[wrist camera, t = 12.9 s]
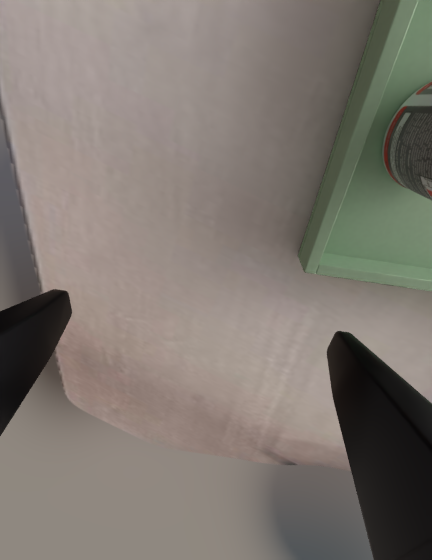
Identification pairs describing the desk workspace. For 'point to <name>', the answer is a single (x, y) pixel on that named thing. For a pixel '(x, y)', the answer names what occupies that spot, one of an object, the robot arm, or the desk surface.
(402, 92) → the tray
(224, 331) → the desk surface
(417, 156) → the pill bottle
